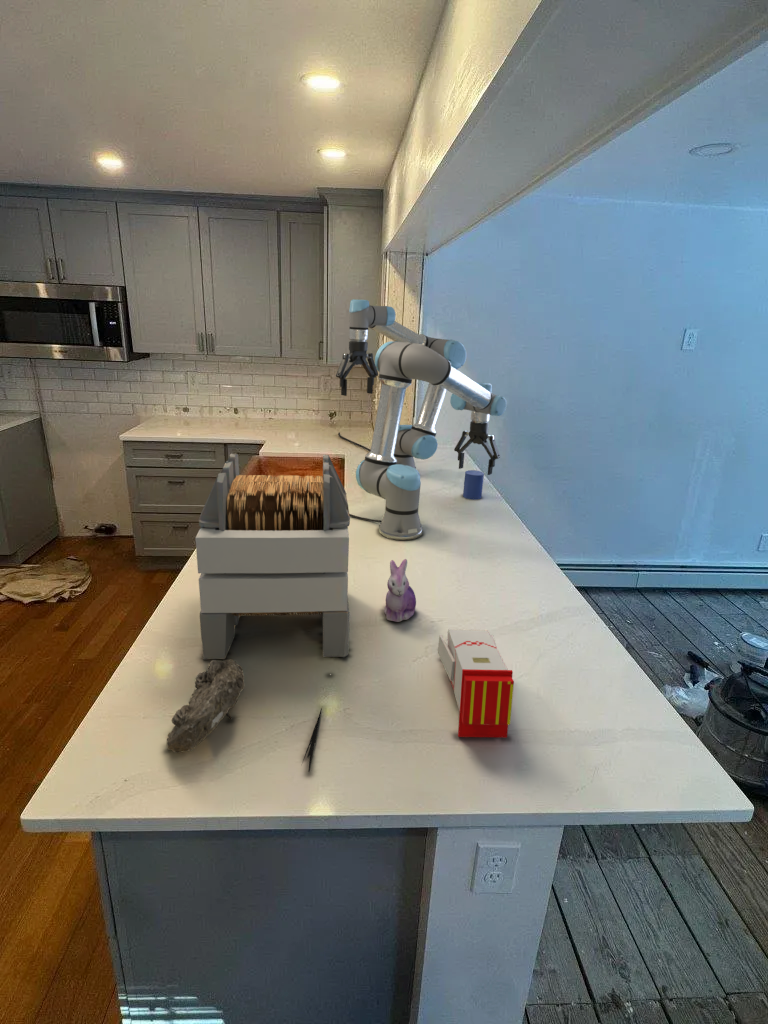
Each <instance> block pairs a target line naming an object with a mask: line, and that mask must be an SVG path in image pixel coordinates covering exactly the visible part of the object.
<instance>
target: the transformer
mask: <svg viewBox="0 0 768 1024" xmlns="http://www.w3.org/2000/svg"><path fill="white" fill-rule="evenodd" d="M339 476H340V475H339V474H338V472H337V470H336V468H335V465H334V464H333V462H332V459H331V457H330V455H329V454H322V475H316V476H315V475H305V476H304V477H302V476H301V475H289V474H288V475H286V474H285V475H284V474H283V475H280V474H279V475H270V474H268V475H266V474H257V475H256V474H253V475H252V474H248V475H246V474H240V464H239V454H238V453H230V454H229V456H228V458H227V460H226V461H225V462H224V463H223V466H222V469H221V471H220V472H219V473H218V474H217V477H216V479H215V481H214V483H213V485H212V488H211V490H210V492H209V494H208V497H207V499H206V501H205V503H204V505H203V508H202V510H201V512H200V515H199V518H198V526H199V527H200V528H199V530H198V532H197V534H196V536H195V549H196V550H195V551H196V552H195V553H196V564H197V565H196V567H197V574H200V575H199V577H198V591H199V602H200V605H199V606H200V611H199V624H200V639H201V645H202V656H201V657H202V660H204V661H205V660H206V661H210V660H226V659H227V658H226V657H227V655H228V653H229V651H230V648H231V645H232V643H233V641H234V638H235V636H236V626H238V624H239V621H240V617H243V616H244V617H245V616H246V617H247V616H290V615H292V616H293V615H294V616H296V615H298V616H299V615H302V616H303V615H309V616H311V615H322V657H323V658H325V657H326V658H328V657H329V658H330V657H331V658H333V657H335V658H337V657H340V658H345V657H347V656H348V655H349V653H350V652H349V650H350V649H349V647H350V603H349V595H348V591H349V552H350V551H349V547H350V535H349V534H350V533H349V528H348V527H350V523H351V516H349V514H350V509H349V502H348V496H347V492H346V489H345V487H344V485H343V483H342V481H341V478H340V477H339Z"/></svg>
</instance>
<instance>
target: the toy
mask: <svg viewBox="0 0 768 1024" xmlns="http://www.w3.org/2000/svg"><path fill="white" fill-rule="evenodd" d="M446 640H447V643H446V641H445V639H444V636H443V635H442V634H439V637H438V646H437V656H438V657H439V659H440V661H441V663H442V666H443V668H444V670H445V672H446V674H447V677H448V679H449V681H450V684H451V687H452V690H453V693H454V697H455V701H456V705H457V708H458V711H459V714H458V715H459V716H458V730H457V731H458V732H457V737H458V738H508V731H509V726H510V725H511V717H512V707H513V697H514V696H513V695H514V684H515V680H514V679H513V673H514V671H513V670H512V669H508V667H507V665H506V662H505V661H504V659H503V658H502V655H501V653H500V651H499V649H498V647H497V643H496V639H495V637H494V635H493V634H491V632H490V631H489V629H467V628H466V629H465V628H463V629H461V628H460V629H459V628H448V630H447V639H446Z"/></svg>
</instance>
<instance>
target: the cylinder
mask: <svg viewBox="0 0 768 1024" xmlns="http://www.w3.org/2000/svg"><path fill="white" fill-rule="evenodd" d="M484 477H485V473H484V472H483V471H481V470H476V469H475V470H474V469H470V470H465V472H464V480H463V490H462V491H463V492H462V497H463V498H464V499H467V500H471V501H473V500H474V501H476V500H480V499H482V495H483V486H484Z"/></svg>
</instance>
